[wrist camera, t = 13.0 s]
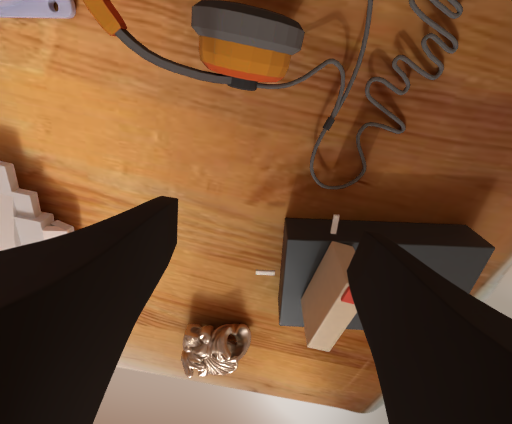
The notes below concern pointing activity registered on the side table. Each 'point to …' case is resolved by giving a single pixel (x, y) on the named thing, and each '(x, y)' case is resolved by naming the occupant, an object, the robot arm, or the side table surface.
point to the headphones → (268, 52)
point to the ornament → (214, 348)
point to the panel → (350, 233)
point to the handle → (328, 299)
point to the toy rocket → (23, 214)
